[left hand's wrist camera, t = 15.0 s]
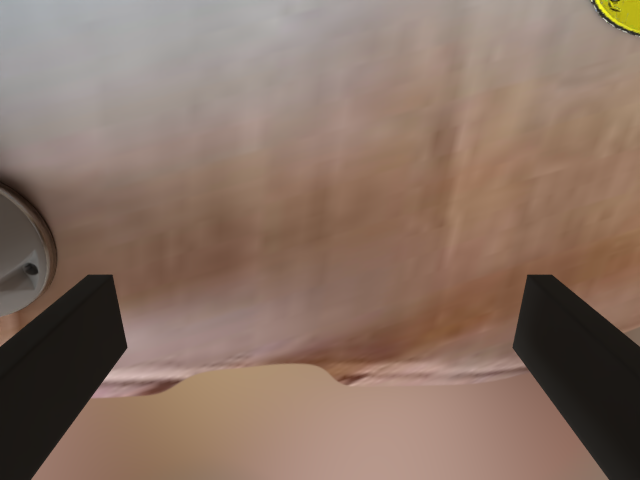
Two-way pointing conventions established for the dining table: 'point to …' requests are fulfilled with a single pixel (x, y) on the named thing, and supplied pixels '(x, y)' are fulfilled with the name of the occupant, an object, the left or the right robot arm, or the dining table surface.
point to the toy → (620, 14)
